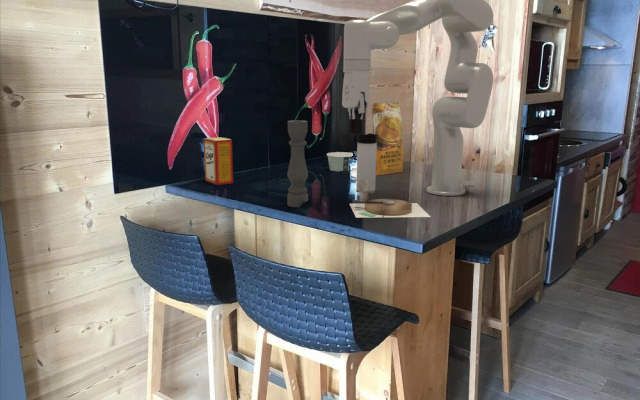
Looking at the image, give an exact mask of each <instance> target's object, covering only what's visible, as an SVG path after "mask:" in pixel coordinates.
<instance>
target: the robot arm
mask: <svg viewBox="0 0 640 400" xmlns="http://www.w3.org/2000/svg"><path fill="white" fill-rule="evenodd" d="M440 19H441V22H442V23H441V24H442V26H443V29H444V30H445V32H446V34H447V36H448V38H449V42H450V52H449V58H448V62H447V67H446V71H445V74H444V75H445V76H444V83H443V84H444V88H445V89H446V91H448V92H450V93H452V94H464V95H465V94H467V95H466V97H465V96H443V97H440V98H438V99H437V100H436V101H435V102H434V104H433V106H432V110H431V113H432V114H431V116H432V124H433V148H432V149H433V150H432V153H433V155H432V169H431V171H432V173H431V185H429V186H426V192H427V193H429V194H432V195H437V196H444V197H445V196H447V197H449V196H451V197H452V196H453V197H454V196H462V195H464V194H465V193H466V188H475V187H476V181H469V180H464V179H463V178H462V167H463V152H464V136H463V135H464V134H463V132H462V130H461V128H463V129H476V128H478V127H480V126H481V125H482V124H483V122H484V120H485V118H486V116H487V115H486V114H487V111H488V106H489V103H490V99H491V95H492V90H493V87H494V74H493V70H492V68H491V67H490V66H489V65H488V64H487V63H482V62H477V58H478V52H479V47H478V43H477V40H476V38H475V37H474V35H473V33H475V32H483V31H486V30H487V29H489V28H490V26H491V25H492V23H493V21H494V11H493V9H492V6H491V5H490V4H489V2H487V1H486V0H410V1H409V2H406V3H404V4H402V5H398V6H396V7H395V8H391V9H390V10H386V11H384V12H381V13H379V14H377V15H374V16H372V17H370V18H368V19H366V20H365V19H351V20H348V21H345V23H344V29H343V65H342V66H343V69H342V70H343V73H344V75H343V84H342V98H341V105H342V107H343V108H345V109H347V112H348V116H349V117H348V118H349V120H348V122H349V123H348V124H349V125H348V126H349V127H348V133H349V134H351V135H362V132H363V130H362V129H363V117H364V115H363V114H365V109H367V108H368V107H369V102H370V83H369V82H370V80H369V79H370V78H369V74H370V73H371V68H372V67H371V66H372V65H371V63H372V61H371V60H372V50H387V49H391V48H393V47H394V46H395V45H396V44H397V43H398V41H399V38H400V36H402V35H408V34H412V33H415V32H418V31H420V30H422V29H424V28H426V27H427V26H429V25H431V24H433V23H435V22H436V21H438V20H440Z"/></svg>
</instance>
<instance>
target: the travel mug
mask: <svg viewBox="0 0 640 400" xmlns="http://www.w3.org/2000/svg"><path fill="white" fill-rule="evenodd" d="M376 140H377V134H373V132H372V133H371V132H369V133H367V134H364V133H363V134H357V149H356V184H355V185H356V189H355V190H356V193H359V186H360V179H368V194H375V193H376V178H377V175H376V147H377V145H376V144H377V143H376Z"/></svg>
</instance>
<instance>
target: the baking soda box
mask: <svg viewBox="0 0 640 400" xmlns="http://www.w3.org/2000/svg"><path fill="white" fill-rule="evenodd" d="M203 156H204V157H203V158H204V159H203V160H204V180H205V182H208V183H210V184H212V185H216V186H220V185H227V184H234V169H233V168H234V167H233V165H234V163H233V162H234V161H233V159H234V158H233V140H232V139H231V138H227V137H221V136H220V137H206V138H203Z"/></svg>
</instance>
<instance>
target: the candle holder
mask: <svg viewBox="0 0 640 400" xmlns="http://www.w3.org/2000/svg"><path fill="white" fill-rule="evenodd" d="M287 133H288V136H289V138H290V141H288V144H289V145H290V160H289V164H288V169H287V173H286V174H287V178H288V180H289V181H290V186H289V187H288V189H287V190H288V192H287V201H286V202H287V206H288V207H291V208H300V207H301V206H302V205H303V204H305V202H308V201H309V193H307V192H308V188H307V187H306V185H305V184H306V181H307V179H308V177H309V172H308V171H309V170H308V167H307V163H306V158H305V146H306V145H307V144H308V143H307V141H306V140H305V139H306V136H307V133H308V121H307V120H303V119H302V120H297V119H296V120H295V119H294V120H288V121H287Z"/></svg>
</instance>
